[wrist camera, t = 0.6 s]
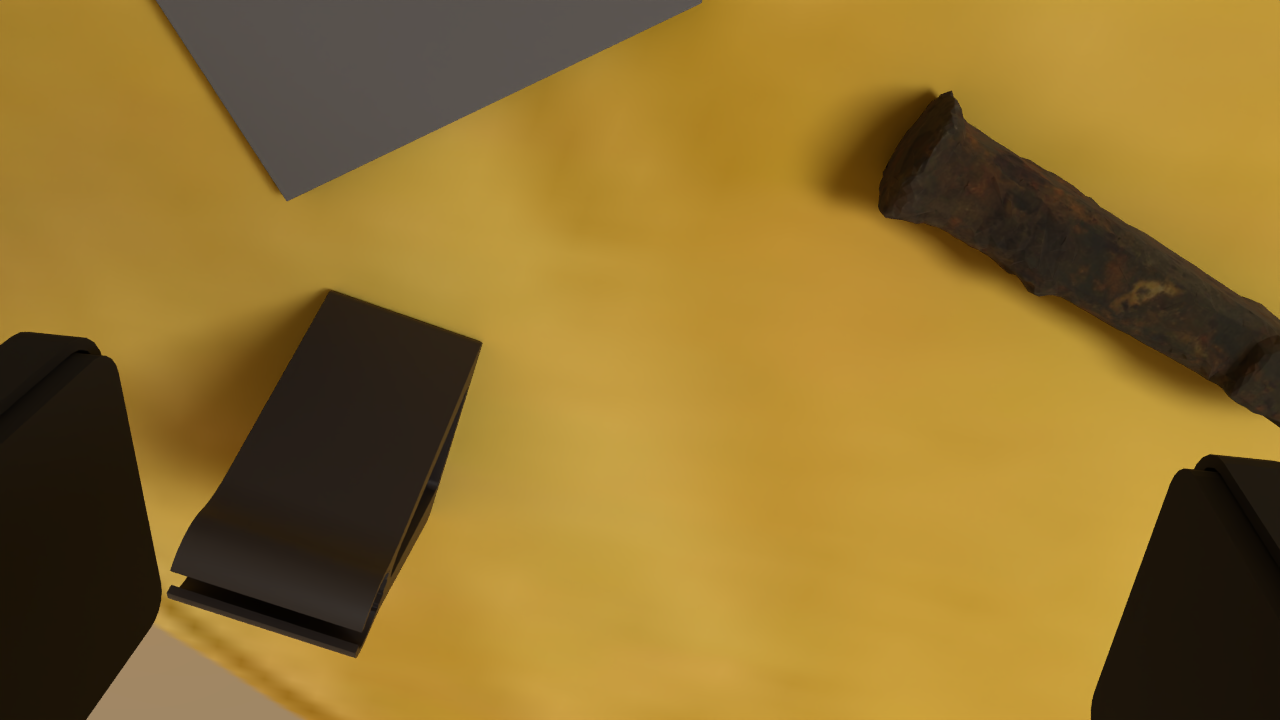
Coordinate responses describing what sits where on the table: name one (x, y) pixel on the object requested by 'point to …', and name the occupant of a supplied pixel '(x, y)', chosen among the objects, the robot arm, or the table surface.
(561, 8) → the base plate
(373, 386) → the phone stand
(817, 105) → the table surface
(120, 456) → the robot arm
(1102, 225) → the hand tool
